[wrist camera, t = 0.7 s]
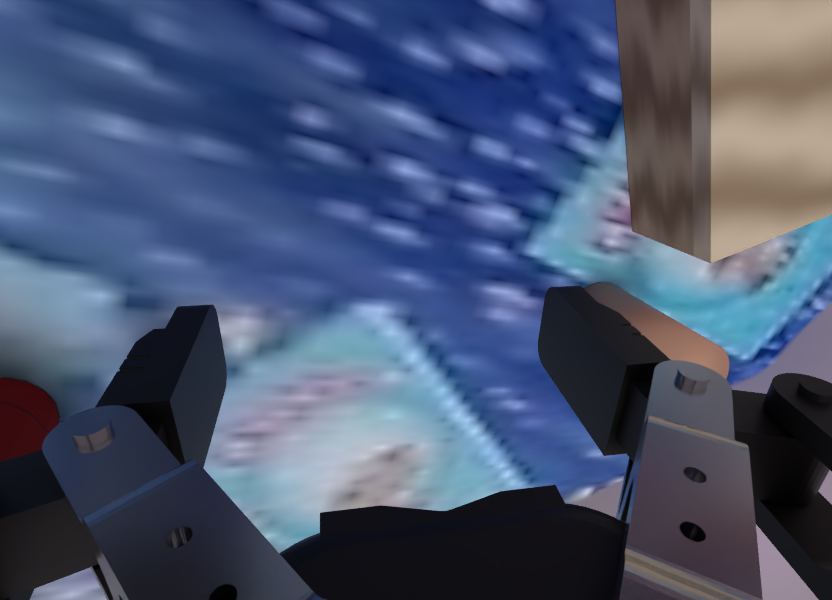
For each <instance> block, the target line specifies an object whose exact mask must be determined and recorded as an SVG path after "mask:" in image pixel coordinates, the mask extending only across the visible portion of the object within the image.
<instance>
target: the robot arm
mask: <svg viewBox="0 0 832 600" xmlns="http://www.w3.org/2000/svg"><path fill="white" fill-rule="evenodd" d="M538 352H539V357H540V361H541V363H542V365H543V367H544V368H545V370H546V371H547V373H548V374H549V376H550V377H551V378H552V380H553V381H554V383H555V384H556V386H557V387H558V389H559V390H560V392H561V393H562V395H563V396H564V398H565V399H566V400H567V402H568V403H569V405H570V406H571V408H572V409H573V411H574V412H575V414H576V415H577V417H578V418H579V420H580V421H581V423H582V424H583V425H584V427H585V428H586V430H587V431H588V433H589V434H590V436H591V437H592V439H593V440H594V442H595V443H596V445H597V446H598V448H599V449H600V450H601V452H602V453H603V455H604V456H607V455H616V454H625V453H627V455H628V456H629V461H628V464H627V468H626V471H625V476H624V481H623V486H622V491H621V495H620V500H619V505H618V510H617V515H616V518H614V517H612V516H609V515H607V514H605V513H602V512H599V511H597V510H593V509H590V508H587V507H583V506H578V505H573V504H565V502H564V501H563V499H562V497H561V495H560V493H559V491H558V489H557V487H556V485H551V486H543V487H534V488H526V489H517V490H509V491H501V492H498V493H495V494H492V495H490V496H487V497H484V498H482V499H479V500H476V501H474V502H471V503H468V504H465V505H463V506H460V507H457V508H455V509H452V510H448V511H432V510H422V509H411V508H401V507H391V506H374V507H365V508H357V509H348V510H340V511H331V512H323V513H320V533H318V534H316V535H313V536H310V537H308V538H306V539H304V540H302V541H300V542H298V543H296V544H294V545H292V546H290V547H289V548H287V549H286V550H284V551H282V552H281V553H278V552H277V551H276V549H275V548H274V547H273V546H272V545H271V544H270V543H269V542H268V540H267V539H266V538H265V537H264V536H263V535H262V534H261V533H260V531H259V530H258V529H257V528H256V527H255V526H254V525H253V524H252V523H251V521H250V520H249V519H248V518H247V517H246V516H245V515H244V514H243V512H242V511H241V510H240V509H239V508H238V507H237V506H236V505H235V503H234V502H233V501H232V500H231V499H230V498H229V497H228V496H227V495H226V493H225V492H224V491H223V490H222V489H221V488H220V487H219V486H218V484H217V483H216V482H215V481H214V480H213V479H212V478H211V477H210V475H209V474H208V473H207V472H206V471H205V470H204V469H203V467H204V463H205V460H206V456H207V453H208V449H209V446H210V442H211V439H212V435H213V431H214V428H215V424H216V421H217V417H218V414H219V410H220V406H221V403H222V399H223V396H224V392H225V388H226V379H227V372H226V361H225V356H224V350H223V345H222V339H221V333H220V328H219V322H218V317H217V312H216V309H215V307H214V305H198V306H179V307H177V308H176V310H175V312H174V314H173V315H172V317H171V319H170V321H169V323H168V325H167V326H166V328H165V329H153V330H152V331H150V332H149V333H148V334H146V335H145V336H144V337H142V338H141V339H139V340H138V341H137V342H136V343H135V344H134V346H133V347H132V349H131V351H130V352H129V354H128V355H127V359H125V360H124V362H123V363H122V365H121V367H120V368H119V369H120V371H118V372H117V373H116V375H115V376H114V378H113V379H112V381H111V383H110V384H109V386H108V388H107V389H106V391H105V392H104V394H103V396H102V397H101V399H100V400H99V402H98V404H97V405H96V407H95V408H92V409H89V410H86V411H83V412H80V413H78V414H76V415H73V416H71V417H70V418H68V419H66V420H64V421H63V422H61V423H60V424H58V425H57V426H56V427H55V428H54V429H52V430H51V432H50V433H49V434H48V435H47V436H46V438H45V440H44V442H43V445H42V449H41V450H38V451H35V452H32V453H29V454H25V455H22V456H18V457H14V458H11V459H7V460H4V461H0V600H29V599H30V597H31V595H32V593H33V591H34V588H37V587H39V586H42V585H45V584H47V583H50V582H53V581H55V580H58V579H60V578H63V577H66V576H68V575H71V574H74V573H76V572H79V571H81V570H84V569H87V568H89V567H91V570H92V572H93V574H94V575H95V577H96V579H97V581H98V583H99V585H100V587H101V589H102V591H103V593H104V595H105V597H106V599H107V600H763V599H762V589H761V577H760V566H759V557H758V556H759V555H758V544H757V533H756V524H757V526H758V527H759V528H760V529H761V530H762V532H763V533H764V534H765V535H766V536H767V538H768V539H769V540H770V541H771V542H772V544H773V545H774V546H775V547H776V548H777V550H778V551H779V552H780V553H781V555H782V556H783V557H784V558H785V559H786V560H787V562H788V563H789V564H790V565H791V567H792V568H793V569H794V570H795V571H796V573H797V574H798V575H799V576H800V577H801V579H802V580H803V581H804V582H805V583H806V585H807V586H808V587H809V588H810V590H811V591H812V592H813V593H814V594H815V596H816V597H817V598H818V599H819V600H832V505H831V504H830V503H829V502H828V501H827V500H826V499H825V498H824V497H823V496H822V495H821V494H820V493H819V492H818V490H819V489H820V486H821V485H822V483H823V481H824V479H825V477H826V475H827V473H828V472H829V470H831V471H832V384H831V383H829V382H827V381H824V380H822V379H819V378H816V377H812V376H808V375H803V374H796V373H785V374H780V375H777V376H775V377H774V378H773V380H772V383H771V385H770V388H769V390H768V392H767V394H762V393H754V392H746V391H737V390H732V388H731V386H730V384H729V382H728V381H727V380H726V379H725V378H724V377H723V376H721V375H720V374H719V373H717V372H715V371H714V370H712V369H710V368H707V367H705V366H702V365H700V364H696V363H693V362H688V361H682V360H670V359H669V358H668V357H667V356H666V355H665V354H664V353H663V352H662V351H661V350H659V349H658V348H657V347H656V346H655V345H654V344H653V343H652V342H651V341H650V340H648V339H647V338H646V337H645V336H644V335H641V332H640V331H639V330H638V329H636V328H635V327H634V326H631V323H630V322H629V321H628V320H627V319H625V318H624V317H623V316H622V315H621V314H620V313H619V312H617V311H615V310H613V309H611V308H609V307H607V306H605V305H603V304H601V303H598V302H597V301H596V300H595V299H594V298H593V297H592V296H591V295H590V294H589V293H587V292H586V291H585V290H584V289H583V288H582V287H581V286H566V287H551V288H549V289H548V290H547V292H546V295H545V300H544V306H543V313H542V319H541V326H540V332H539V339H538Z"/></svg>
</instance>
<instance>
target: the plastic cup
mask: <svg viewBox="0 0 832 600" xmlns="http://www.w3.org/2000/svg"><path fill="white" fill-rule="evenodd" d="M59 417H60V416H59V413H58V410H57V406H56V403H55V402H54V401H53V400H52V398H51V397H50V396H49V395H48V394H47V393H46V392H45V391H44V390H42V389H40V388H39V387H37V386H35V385H33V384H31V383H29V382H27V381H22V380H16V379H11V378H0V461H4V460H7V459H11V458H14V457H18V456H22V455H25V454H29V453H32V452H35V451H38V450H41V449H42V445H43V442H44V440H45V438H46V436H47V435H48V434H49V433H50V432H51V430H52V429H54V428H55V427H56V426H57V425H58V424H59V423H60V422H59Z"/></svg>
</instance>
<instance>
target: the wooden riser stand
mask: <svg viewBox="0 0 832 600" xmlns="http://www.w3.org/2000/svg"><path fill="white" fill-rule="evenodd" d="M615 4H616V18H617V31H618V44H619V58H620V71H621V84H622V98H623V111H624V124H625V138H626V151H627V164H628V177H629V191H630V204H631V217H632V231H633V232H636V233H638V234H641V235H643V236H645V237H648V238H650V239H653V240H655V241H658V242H660V243H663V244H665V245H667V246H670V247H672V248H675V249H677V250H680V251H682V252H684V253H687V254H689V255H692V256H694V257H697V258H699V259H702V260H704V261H706V262H709V263H713V262H715V261H718V260H720V259H723V258H725V257H728V256H730V255H733V254H735V253H738V252H740V251H743V250H745V249H748V248H750V247H753V246H755V245H758V244H760V243H763V242H765V241H767V240H770V239H772V238H775V237H777V236H780V235H782V234H785V233H787V232H790V231H792V230H795V229H797V228H800V227H802V226H805V225H807V224H810V223H812V222H815V221H817V220H820V219H822V218H825V217H827V216H830V215H832V0H615Z"/></svg>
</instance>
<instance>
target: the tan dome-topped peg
mask: <svg viewBox="0 0 832 600" xmlns="http://www.w3.org/2000/svg"><path fill="white" fill-rule="evenodd" d="M584 290H585V291H586V292H587V293H589V294H590V295H591V296H592V297H593V298H594V299H595V300H596V301H597V302H598V303H601V304H603V305H605V306H607V307H609V308H611V309H613V310H615V311H617V312H619V313H620V314H621V315H622V316H623V317H624V318H625V319H627V320H628V321H629V322H630V323H631V326H634V327H635V328H636V329H638V330H639V331H640V332H641V335H644V336H645V337H646V338H647V339H648V340H650V341H651V342H652V343H653V344H654V345H655V346H656V347H657V348H658V349H659V350H661V351H662V352H663V353H664V354H665V355H666V356H667V357H668V358H669V359H670V360H682V361H688V362H693V363H696V364H700V365H702V366H705V367H707V368H710V369H712V370H714V371H715V372H717V373H719V374H720V375H721V376H723V377H724V378H725V379H726V378H727V375H728V371H729V358H728V355H727V353H726V352H725V350H724V349H723V348H722V347H720V346H718V345H717V344H715V343H713V342H712V341H710V340H708V339H706V338H705V337H703V336H701V335H700V334H698V333H696V332H694V331H693V330H691V329H689V328H688V327H686V326H684V325H682V324H681V323H679V322H677V321H676V320H674V319H672V318H670V317H669V316H667V315H665V314H664V313H662V312H660V311H658V310H657V309H655V308H653V307H652V306H650V305H648V304H646V303H645V302H643V301H641V300H640V299H638V298H636V297H634V296H633V295H631V294H629V293H628V292H626V291H624V290H622V289H621V288H619V287H617V286H616V285H614V284H612V283H608V282H599V283H595V284H592V285H590V286H588V287H586V288H585V289H584Z"/></svg>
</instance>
